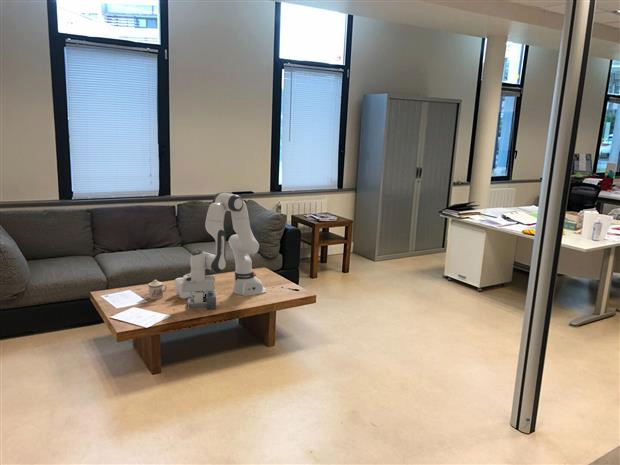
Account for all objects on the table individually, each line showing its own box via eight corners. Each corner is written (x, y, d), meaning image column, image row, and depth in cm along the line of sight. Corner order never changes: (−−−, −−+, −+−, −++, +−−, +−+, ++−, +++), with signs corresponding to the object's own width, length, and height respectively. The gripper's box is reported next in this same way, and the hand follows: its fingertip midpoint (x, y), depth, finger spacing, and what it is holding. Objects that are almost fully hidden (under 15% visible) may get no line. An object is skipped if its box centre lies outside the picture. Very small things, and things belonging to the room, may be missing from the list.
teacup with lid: (152, 300, 312) (151, 283, 309) (146, 296, 319) (145, 279, 316) (169, 296, 320) (169, 279, 317) (163, 292, 326) (163, 276, 324)
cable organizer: (178, 299, 315) (178, 282, 312) (174, 294, 324) (174, 277, 321) (201, 296, 322) (201, 279, 319) (197, 291, 331) (196, 275, 328)
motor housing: (213, 300, 316) (212, 286, 314) (216, 309, 302) (216, 295, 300) (187, 302, 312) (187, 288, 309) (189, 311, 297) (189, 297, 295)
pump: (202, 300, 309) (202, 286, 306) (203, 303, 304) (202, 289, 302) (194, 301, 307) (193, 287, 305) (194, 303, 302) (194, 290, 300)
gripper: (214, 273, 308) (214, 294, 311) (181, 275, 302) (181, 296, 305) (215, 276, 302) (215, 297, 305) (181, 279, 296) (182, 300, 299)
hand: (198, 297), depth 305 cm, fingers closed on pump, 5 cm apart
